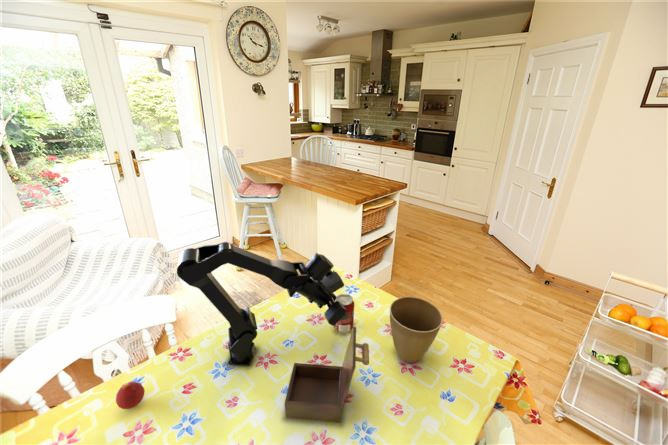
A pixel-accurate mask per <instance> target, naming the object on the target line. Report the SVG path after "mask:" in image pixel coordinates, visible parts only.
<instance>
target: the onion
mask: <svg viewBox="0 0 668 445" xmlns="http://www.w3.org/2000/svg"><path fill="white" fill-rule="evenodd" d="M145 392H146V391H145V388H144V386H143V385H142V383H141V382H138V381H128V382H125V383H122V385H121V387H120V388H119V389H118V391H117V392H116V395H115V403H116V405H117V407H118V408H119V409H123V410H131V409H133V408H135V407H137V406H138V405H139V404H141V402H142V400H143V399H144V397H145Z"/></svg>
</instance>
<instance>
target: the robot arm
mask: <svg viewBox="0 0 668 445" xmlns="http://www.w3.org/2000/svg"><path fill="white" fill-rule="evenodd" d="M227 264H229V265H231V266H234V267H237V268H240V269H243V270H247V271H249V272H252V273H254V274H258V275H261V276H264V277H266V278H268V279H269V280H270V281H271V282H273V283H274V284H275V285H277V286H279V287H280V288H282V289H284V290H286V291H287V294H288V297H289V298H292V297H293V296H294V295H295V294H296V293H297V294H299V295H301V296H302V297H304V298H306V299H307V300H308V303H309V304H313V303H315V304H316V305H317V307H318V308H319V309H322V308H323V307H325V306H327V309H326V310H325V312H324V318H325V320H326V322H327V324H329V325H330V326H333V327H334V326H335V325H336V324H337V322H338V321H339V320H346V319H349V318H350V316H349V315H348V314H347V313H346V308H345V307H344V305H343V304H342V303H341V302H339V301H336V302H334V301H335V300H336V297H337V295H336V294H335V292H337V291H338V290H340V289H342V288H344V287H345V282H344V281H343V279H342V277H341V276H340V274H339V273H338V272H337V271H336V270H332V269H333V268H334V266H335V265H334V263H332V261H331V260H330V259H329V258H327V257H326V256H325V254H321V253H317V252H315V254H313V255H312V258H310V259H309V261H308V262H307V263H306V264H305V263H304V261H296V262H295V261H293V262H292V261H288V260H285V259H284V260H283V259H270V258H268V257H265V256H262V255H259V254H257V253H254V252H252V251H249V250H247V249H243V248H241V247H239V246H237V245H234V244H232V243H230V242H227V241H224V242H220V243H216V244H205V245H201V246H199V247H190V248H189V247H188V248H186V249H183V251H181V252H180V254H179V255H178V260H177V267H176V275H177V277H178V278H179V279H180V280H181V281H183V282H184V283H186V284H187V285H188V286H190V287H193V288H196V289H198V290H200V292H201V293H202V294H203V295H204V296H205V297H206V298H207V299H208V301H209V302H210V303H211V305H212V306H214V307H215V308H216V310H217V311H218V313H220V314H221V315H222V316H223V318H224V319H225V320H226V321H227V322H228V324H229V327H228V329H227V330H228V333H227V334H228V343H227V347H228V348H227V349H228V351H229V352H228V354H229V359H228V362H227V364H228V365H232V366H244V367H246V366H247V367H250V365H251V363H252V360H254V357H255V355H256V353H257V352H256V351H257V347H256V344H255V342H254V340H256V338H257V336H258V325H257V320H256V319H257V318H256V314H255V313H253V312H252V311H251V309H250V307H249V306H246V307H245V308H241V307H240V306H239V305H238V304H237V303H236V302H235V300H234V299H233V298H232V296H231V295H230V294H229V293H228V292H227V291H226V289H225V288H224V287H223V286H222V285H221V283H220V282H219V281H218V279H216V277H215V276H214V275H213V272H214V271H215V270H217V269H219V268H220V267H221V266H225V265H227ZM298 272H299V273H300V274H299V273H298Z"/></svg>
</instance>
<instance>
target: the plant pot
mask: <svg viewBox="0 0 668 445" xmlns="http://www.w3.org/2000/svg"><path fill="white" fill-rule="evenodd" d="M443 318H444V317H443V314H442V312H441V310H439V308H438V307H437V306H436V305H434V304H433V303H431V302H430V301H429V300H427V299H423V298H422V297H417V296H402V297H398V298H396V299H394V300H393V301H392V302H391V303H390V306H389V323H390V332H391V337H392V342H393V346H394V349H395V353H396V354H397V356H398V358H400V360H402V361H404V362H407V363H411V364H412V363H417V362H418V361H419V360H420V359H421V358H422V357H423V356H424V355H425V354H426V352H427V351H428V350H429V348H430V347H431V346H432V345H433V344H434V343H433V342H434V341H435V339H436V337H437V335H438V333H439V332H440V329H441V327H442V325H443V321H444V319H443Z"/></svg>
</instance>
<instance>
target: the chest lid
mask: <svg viewBox="0 0 668 445" xmlns="http://www.w3.org/2000/svg"><path fill="white" fill-rule="evenodd" d="M369 346H370V345H369V344H368V343H367V342H363V343H357V327H356V326H353V329H352V330H351V334H350V337H349V341H348V344H347V348H346V351H345V354H344V358H343V361H342V365H341V367H342V377H341V393H340V407H341V408H343V407H344V404H345V401H346V399H347V395H348V392H349V389H350V387H351V386H350V385H351V382H352V380H353V376H354V373H355V369H356V363H357V362H358V363H362V365H363V366H368V365H369V364H370V348H369ZM357 349H361V357H359V356H357V352H356V351H357Z"/></svg>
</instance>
